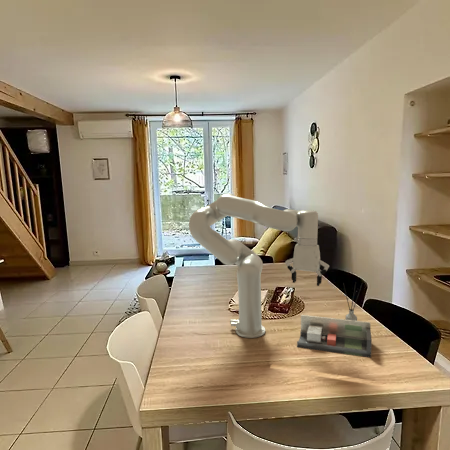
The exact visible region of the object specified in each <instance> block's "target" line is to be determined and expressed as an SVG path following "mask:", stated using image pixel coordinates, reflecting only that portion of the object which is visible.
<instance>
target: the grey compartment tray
mask: <svg viewBox="0 0 450 450" xmlns="http://www.w3.org/2000/svg"><path fill="white" fill-rule="evenodd" d="M309 325H311V326H319V327H322V336H326V340H325V341H324V340H322V342H321V344H317V343H309V342H307V331H308V328H309ZM328 334H336V346H331V345H327V337H328ZM372 340H373V339H372V332H371V322H370V321H362V320H357V321H354V320H346V318H345V319H344V318H334V317H324V316H318V315H317V316H316V315H308V314H301V315H300V336H299V339H298V340H297V341H296V348H300V349H308V350H314V351H320V352H329V353H336V354H343V355H347V356H348V355H350V356H357V357H364V358H369V359H370V358H372Z"/></svg>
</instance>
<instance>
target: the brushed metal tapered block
mask: <svg viewBox="0 0 450 450" xmlns="http://www.w3.org/2000/svg"><path fill="white" fill-rule="evenodd" d="M322 340H324V341H325V340H326V336H322V327H319V326H311V325H309V328H308V331H307V342H309V343H317V344H321V342H322Z"/></svg>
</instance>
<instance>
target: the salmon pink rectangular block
mask: <svg viewBox="0 0 450 450" xmlns="http://www.w3.org/2000/svg"><path fill="white" fill-rule="evenodd" d="M327 345H331V346H336V334H328V337H327Z"/></svg>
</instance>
